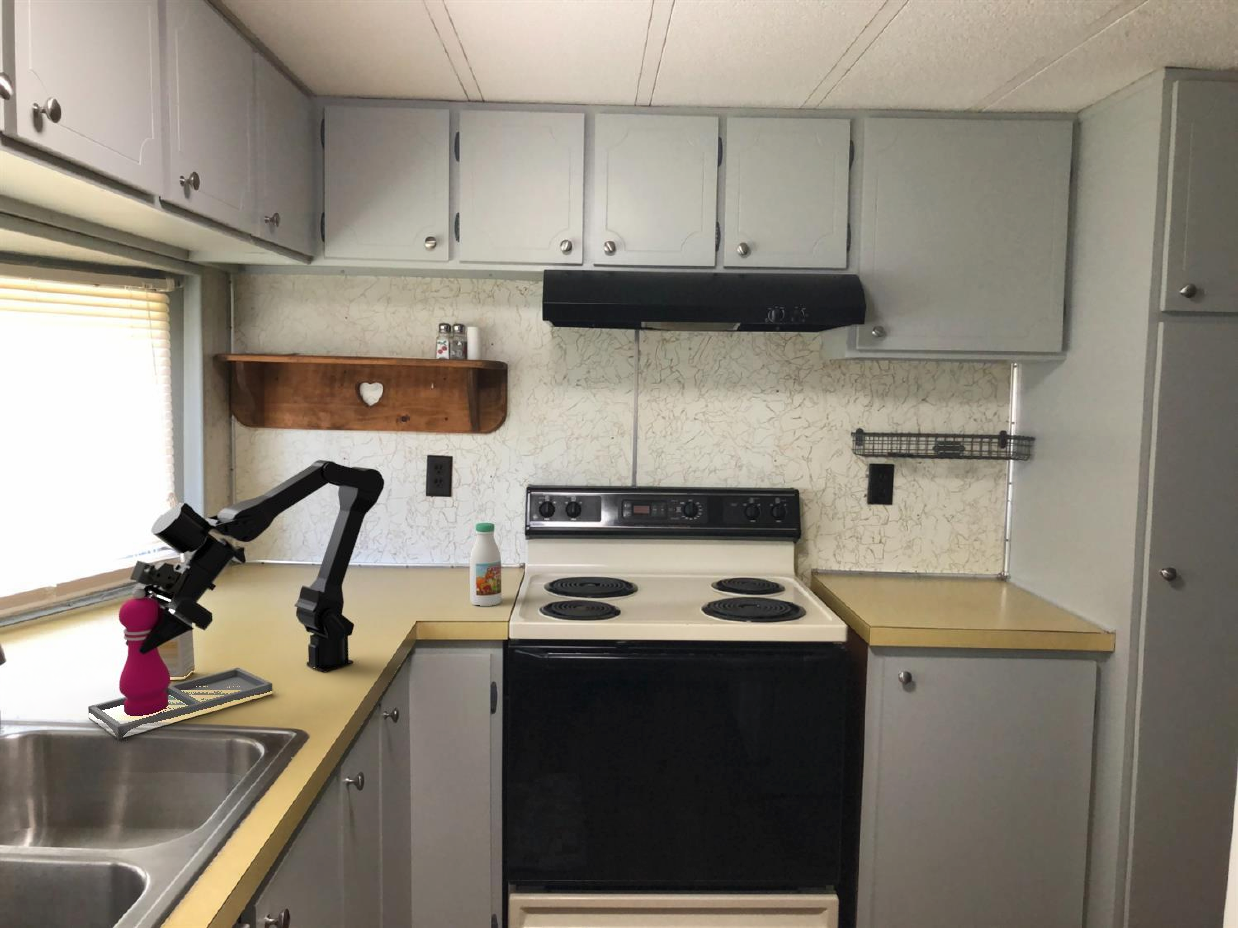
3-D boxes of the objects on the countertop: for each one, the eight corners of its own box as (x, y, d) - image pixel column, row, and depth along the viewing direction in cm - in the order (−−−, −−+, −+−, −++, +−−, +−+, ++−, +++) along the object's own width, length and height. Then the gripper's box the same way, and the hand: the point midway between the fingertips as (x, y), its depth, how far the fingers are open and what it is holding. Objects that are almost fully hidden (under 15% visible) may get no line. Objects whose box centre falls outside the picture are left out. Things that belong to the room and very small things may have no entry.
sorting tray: (238, 678, 152) (238, 667, 152) (272, 694, 144) (272, 683, 144) (88, 718, 133) (88, 706, 133) (118, 740, 125) (117, 727, 125)
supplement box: (196, 672, 155) (193, 604, 154) (183, 681, 150) (180, 611, 149) (151, 672, 155) (148, 604, 153) (137, 681, 150) (133, 611, 149)
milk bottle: (465, 606, 202) (464, 525, 200) (477, 598, 210) (476, 520, 208) (494, 608, 200) (493, 527, 198) (506, 600, 208) (505, 522, 206)
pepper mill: (181, 705, 135) (173, 586, 133) (136, 721, 129) (127, 596, 127) (156, 696, 139) (148, 580, 137) (111, 711, 133) (103, 590, 131)
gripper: (140, 534, 140) (70, 612, 133) (188, 548, 128) (114, 634, 121) (191, 571, 147) (127, 647, 140) (240, 588, 135) (174, 671, 128)
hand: (134, 649), depth 132 cm, fingers closed on pepper mill, 5 cm apart
